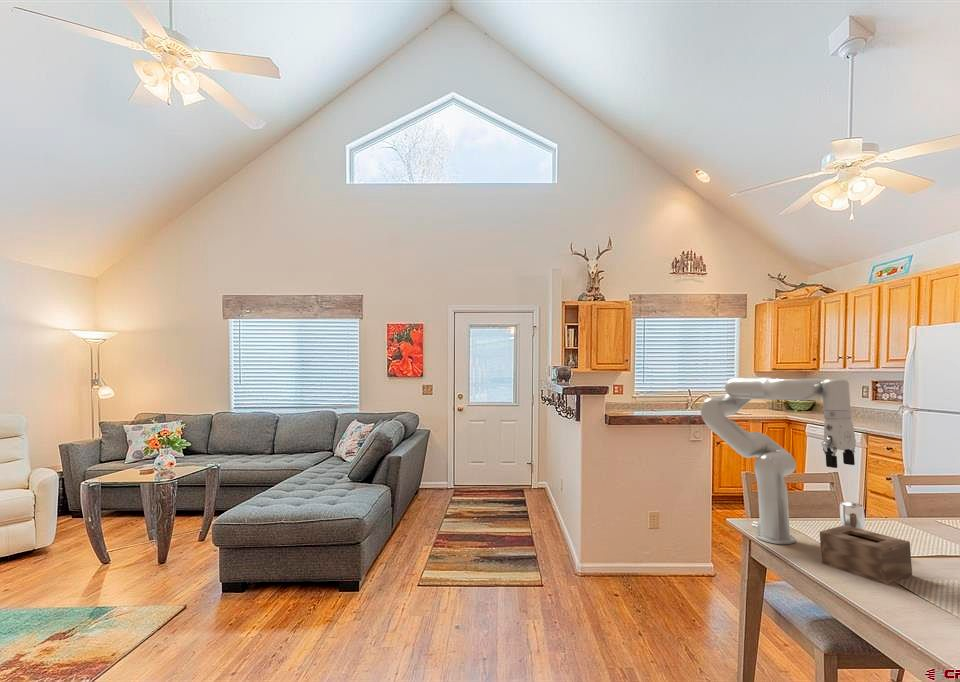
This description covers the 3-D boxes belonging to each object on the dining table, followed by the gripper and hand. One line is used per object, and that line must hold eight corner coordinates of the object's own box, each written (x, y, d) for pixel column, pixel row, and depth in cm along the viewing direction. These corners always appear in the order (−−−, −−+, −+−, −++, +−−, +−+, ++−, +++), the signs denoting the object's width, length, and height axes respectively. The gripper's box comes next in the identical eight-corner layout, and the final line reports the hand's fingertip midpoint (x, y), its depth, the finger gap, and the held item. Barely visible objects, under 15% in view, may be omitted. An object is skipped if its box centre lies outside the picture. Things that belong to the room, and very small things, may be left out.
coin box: (821, 562, 157) (819, 531, 158) (846, 555, 163) (844, 525, 163) (886, 584, 141) (884, 549, 141) (912, 575, 146) (909, 541, 147)
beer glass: (861, 544, 172) (858, 502, 173) (871, 551, 165) (867, 507, 166) (838, 543, 174) (835, 501, 175) (847, 550, 167) (844, 506, 168)
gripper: (833, 417, 157) (837, 470, 156) (864, 414, 164) (867, 465, 163) (810, 415, 164) (813, 466, 163) (840, 413, 171) (843, 461, 170)
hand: (840, 465), depth 163 cm, fingers open, 9 cm apart
